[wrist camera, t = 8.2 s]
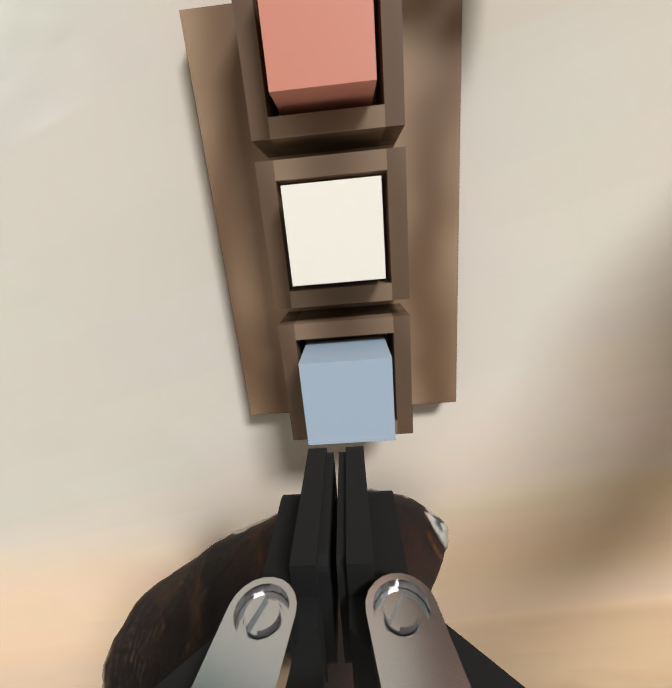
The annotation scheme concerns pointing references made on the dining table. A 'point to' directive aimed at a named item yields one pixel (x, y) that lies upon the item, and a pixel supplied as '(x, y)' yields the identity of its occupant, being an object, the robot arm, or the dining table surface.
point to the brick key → (319, 53)
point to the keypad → (326, 165)
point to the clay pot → (219, 590)
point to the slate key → (348, 391)
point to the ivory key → (335, 230)
